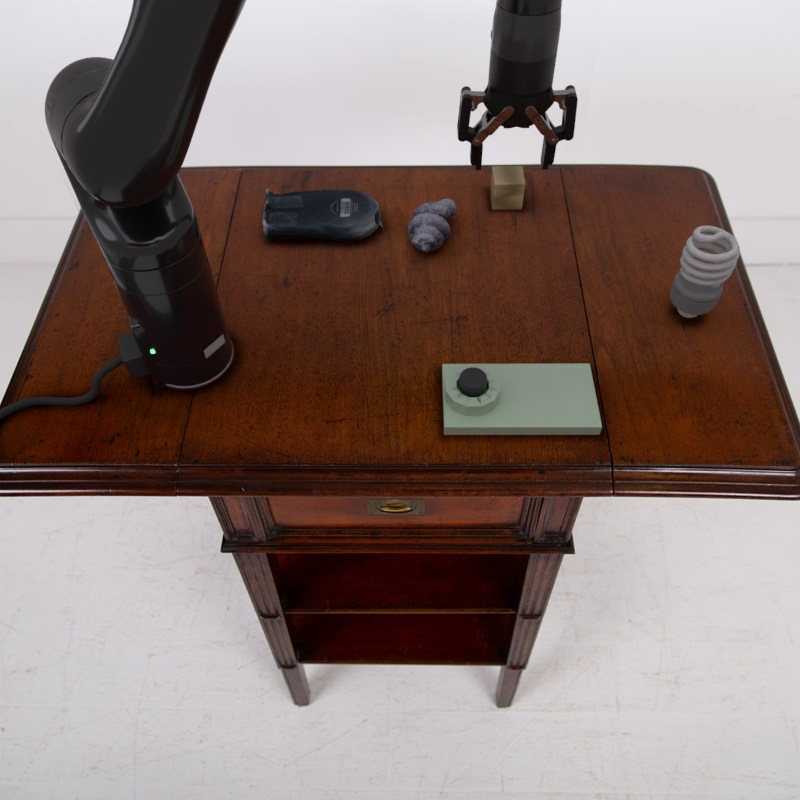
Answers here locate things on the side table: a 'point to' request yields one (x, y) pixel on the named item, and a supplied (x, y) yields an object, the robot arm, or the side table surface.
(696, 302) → the light bulb
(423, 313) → the side table surface
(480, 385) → the button
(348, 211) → the electronic device
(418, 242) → the seashell
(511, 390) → the pale green flat block
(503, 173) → the block
